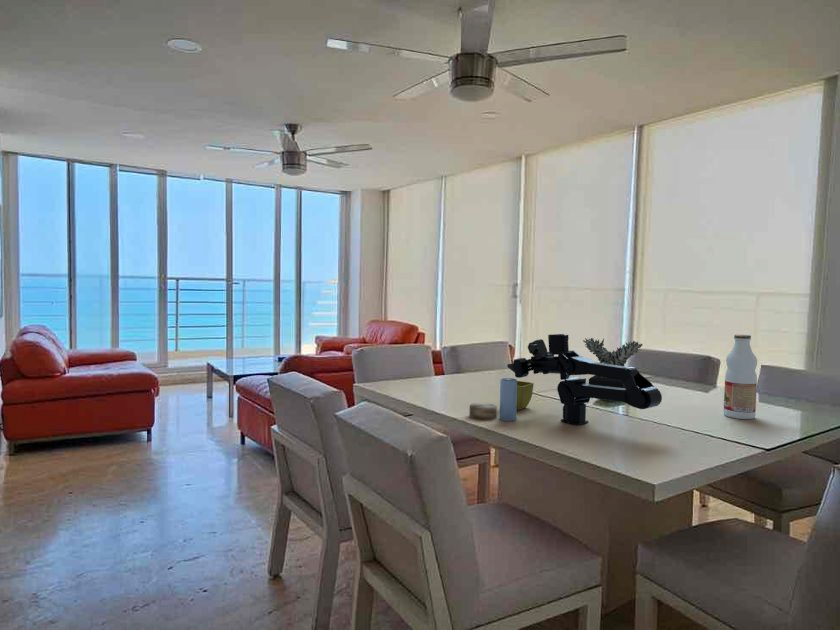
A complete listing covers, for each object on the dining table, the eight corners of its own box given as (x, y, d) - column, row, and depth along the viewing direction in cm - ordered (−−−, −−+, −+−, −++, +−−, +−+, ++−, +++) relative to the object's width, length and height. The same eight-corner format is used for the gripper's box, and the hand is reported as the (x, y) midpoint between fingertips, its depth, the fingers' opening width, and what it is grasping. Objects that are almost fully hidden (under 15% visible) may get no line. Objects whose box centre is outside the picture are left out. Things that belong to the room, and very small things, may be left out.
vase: (519, 419, 176) (520, 379, 175) (508, 421, 173) (508, 381, 172) (507, 416, 180) (508, 377, 179) (496, 418, 177) (496, 378, 176)
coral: (579, 387, 234) (580, 339, 233) (583, 381, 250) (584, 336, 249) (641, 392, 224) (642, 342, 223) (641, 385, 241) (643, 339, 240)
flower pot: (522, 411, 187) (523, 386, 187) (500, 408, 192) (500, 383, 192) (533, 407, 194) (534, 382, 194) (511, 404, 199) (512, 380, 199)
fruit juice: (745, 421, 177) (748, 336, 176) (717, 415, 185) (720, 334, 184) (761, 417, 182) (764, 335, 180) (733, 412, 190) (736, 333, 189)
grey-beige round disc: (502, 417, 179) (502, 406, 179) (482, 420, 173) (482, 410, 173) (483, 411, 186) (483, 401, 186) (463, 415, 181) (464, 404, 180)
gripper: (566, 337, 185) (531, 337, 198) (530, 344, 174) (495, 345, 186) (569, 369, 186) (534, 367, 198) (534, 378, 174) (499, 376, 187)
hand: (516, 363), depth 192 cm, fingers open, 9 cm apart
